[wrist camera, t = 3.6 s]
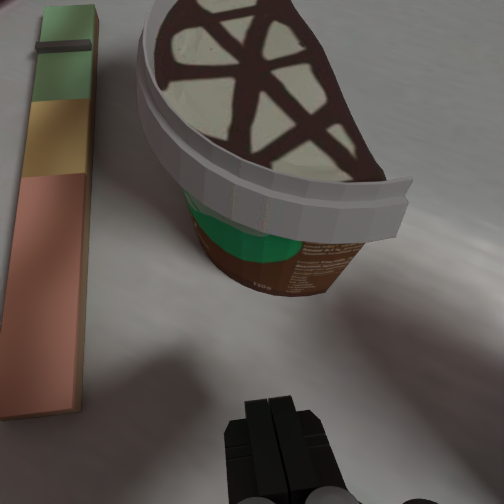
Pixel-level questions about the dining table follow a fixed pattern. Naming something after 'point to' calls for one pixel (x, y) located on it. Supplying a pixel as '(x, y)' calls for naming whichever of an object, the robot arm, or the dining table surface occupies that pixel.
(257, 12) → the food container
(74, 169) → the strip
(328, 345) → the dining table surface
